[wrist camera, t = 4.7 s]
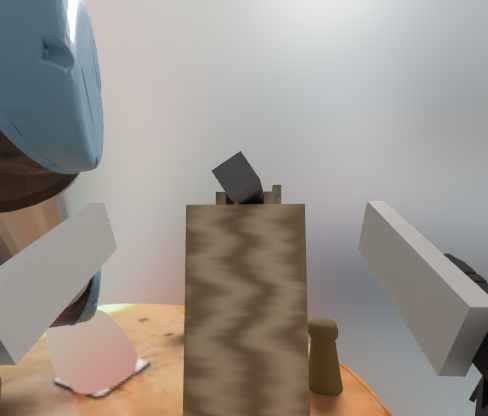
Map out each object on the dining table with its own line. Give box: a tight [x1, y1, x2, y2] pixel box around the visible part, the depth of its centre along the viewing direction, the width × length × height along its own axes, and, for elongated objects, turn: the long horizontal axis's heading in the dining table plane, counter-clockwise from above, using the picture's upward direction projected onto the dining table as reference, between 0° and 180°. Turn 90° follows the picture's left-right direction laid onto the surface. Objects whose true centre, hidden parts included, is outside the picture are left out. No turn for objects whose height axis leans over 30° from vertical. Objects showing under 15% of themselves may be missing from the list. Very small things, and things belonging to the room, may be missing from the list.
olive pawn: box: [308, 318, 343, 395], centre depth 46 cm, size 6×6×11 cm
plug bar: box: [212, 151, 263, 204], centre depth 37 cm, size 4×24×4 cm
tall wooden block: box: [183, 185, 310, 416], centre depth 36 cm, size 14×14×34 cm
